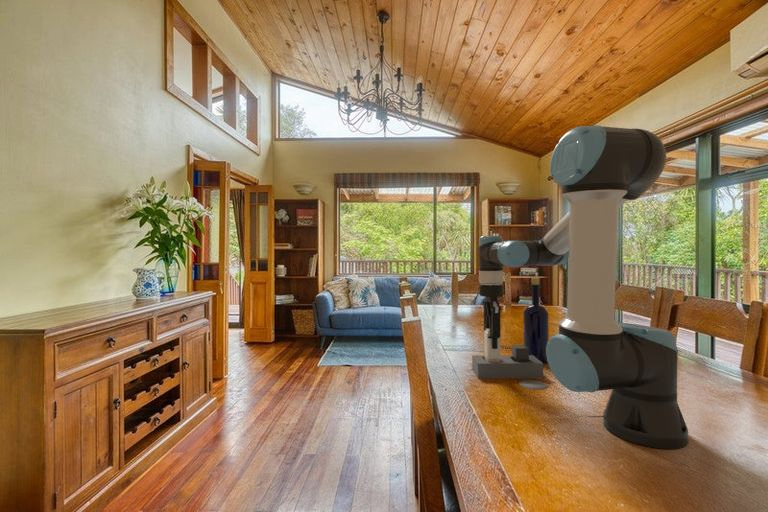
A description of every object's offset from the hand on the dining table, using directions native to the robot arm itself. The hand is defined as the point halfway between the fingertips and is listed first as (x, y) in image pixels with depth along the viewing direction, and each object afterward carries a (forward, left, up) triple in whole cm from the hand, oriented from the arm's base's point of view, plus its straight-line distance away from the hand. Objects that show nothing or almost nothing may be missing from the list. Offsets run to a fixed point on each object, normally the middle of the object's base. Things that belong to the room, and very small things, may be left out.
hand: (492, 356), depth 118 cm
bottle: (+15, -20, -6) cm, 25 cm away
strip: (0, -5, -6) cm, 8 cm away
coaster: (-10, -10, -6) cm, 15 cm away
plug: (0, 0, -4) cm, 4 cm away
